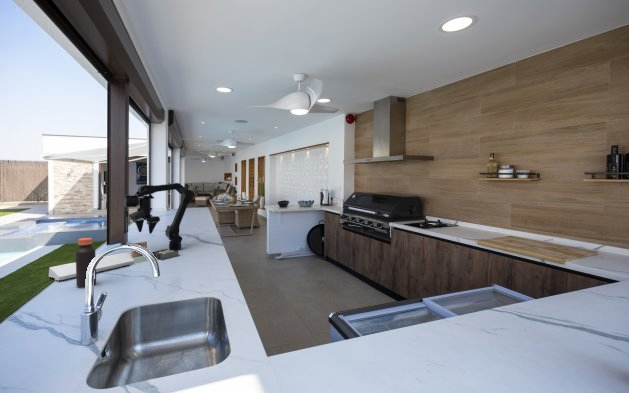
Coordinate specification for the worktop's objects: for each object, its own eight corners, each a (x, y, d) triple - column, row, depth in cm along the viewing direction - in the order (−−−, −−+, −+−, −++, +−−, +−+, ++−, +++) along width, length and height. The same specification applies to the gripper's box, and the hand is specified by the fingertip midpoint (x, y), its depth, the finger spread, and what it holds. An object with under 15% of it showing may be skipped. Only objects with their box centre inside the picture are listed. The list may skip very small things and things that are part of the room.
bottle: (86, 288, 131) (84, 240, 130) (72, 287, 132) (70, 240, 131) (100, 283, 138) (99, 237, 136) (87, 282, 139) (85, 237, 138)
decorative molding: (135, 268, 168) (125, 260, 173) (137, 259, 167) (126, 252, 172) (58, 286, 139) (48, 277, 143) (59, 277, 138) (49, 267, 142)
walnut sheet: (145, 259, 175) (145, 241, 175) (146, 259, 175) (146, 241, 174) (131, 262, 168) (131, 243, 168) (133, 263, 167) (133, 244, 167)
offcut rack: (166, 254, 190) (166, 248, 190) (180, 256, 185) (180, 250, 184) (148, 258, 179) (148, 252, 179) (162, 261, 174) (162, 255, 174)
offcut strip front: (171, 255, 184) (171, 250, 183) (173, 256, 183) (173, 251, 183) (162, 258, 178) (162, 253, 178) (164, 258, 177) (164, 253, 177)
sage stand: (144, 259, 178) (144, 252, 178) (154, 260, 175) (153, 254, 174) (125, 263, 168) (125, 256, 168) (135, 265, 165) (134, 258, 165)
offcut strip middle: (168, 255, 185) (168, 250, 185) (170, 255, 184) (170, 250, 184) (159, 257, 180) (158, 252, 179) (160, 257, 179) (160, 252, 179)
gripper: (121, 206, 183) (121, 233, 184) (142, 208, 174) (143, 236, 175) (139, 205, 193) (139, 230, 194) (160, 207, 184) (160, 233, 185)
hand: (145, 232), depth 187 cm, fingers open, 9 cm apart
